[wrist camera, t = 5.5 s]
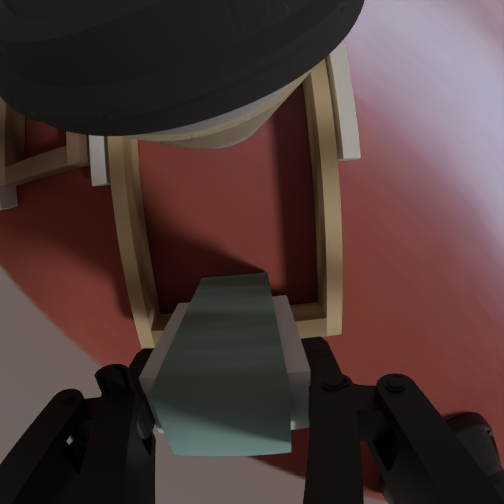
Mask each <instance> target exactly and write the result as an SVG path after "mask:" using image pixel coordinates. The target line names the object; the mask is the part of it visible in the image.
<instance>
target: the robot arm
mask: <svg viewBox="0 0 504 504" xmlns="http://www.w3.org/2000/svg"><path fill="white" fill-rule="evenodd" d="M272 299H273V304H274V309H275V314H276V319H277V324H278V329H279V334H280V339H281V344H282V349H283V354H284V359H285V365H286V370H287V375H288V380H289V385H290V404H291V430H295V429H303V428H309V421H310V438H309V450H308V461H307V472H306V482H305V491H304V499H303V504H364V501H363V480H362V465H361V452H360V441H359V440H362V441H366V442H367V444H368V446H369V448H370V450H371V453H372V455H373V457H374V459H375V461H376V463H377V466H378V468H379V470H380V472H381V474H382V477H381V479H380V488H381V491H382V493H383V496H384V498H385V500H386V501H387V502H388V503H389V504H504V469H503V468H502V466H501V463H500V458H499V454H498V450H497V446H496V443H495V440H494V437H493V432H492V429H491V427H490V425H489V424H488V423H487V421H486V420H485V419H484V418H483V417H482V416H481V415H479V414H466V415H463V416H460V417H457V418H455V419H452V420H450V421H448V422H446V421H445V420H444V419H443V418H442V416H441V415H440V414H439V412H438V411H437V410H436V409H435V407H434V406H433V405H432V404H431V402H430V401H429V400H428V399H427V397H426V396H425V395H424V394H423V392H422V391H421V390H420V389H419V387H418V386H417V385H416V384H415V382H414V381H413V380H412V379H411V378H409V377H408V376H405V375H403V374H395V373H394V374H387V375H385V376H383V377H381V378H380V379H379V380H378V381H377V385H376V386H365V385H357V384H353V383H352V381H351V379H350V378H349V377H348V376H346V375H343V374H342V373H341V370H340V368H339V366H338V364H337V362H336V360H335V357H334V355H333V353H332V351H331V350H330V347H329V345H328V342H327V341H326V340H324V339H323V338H321V337H320V336H318V337H310V338H302V339H300V336H299V332H298V329H297V326H296V323H295V320H294V317H293V314H292V311H291V308H290V304H289V301H288V298H287V295H282V296H272ZM189 304H190V303H178V305H177V307H176V309H175V311H174V312H173V314H172V316H171V318H170V320H169V322H168V323H167V325H166V327H165V329H164V331H163V333H162V335H161V336H160V338H159V340H158V342H157V344H156V346H155V348H144V349H142V350H141V351H140V352H138V353H137V354H136V356H135V357H134V359H133V362H131V364H130V366H129V367H127V366H125V365H122V364H112V365H107V366H105V367H102V368H101V369H99V370H98V371H97V372H96V374H95V377H96V380H97V383H98V385H99V388H100V390H101V392H102V395H101V397H98V398H89V399H84V397H83V395H82V393H81V392H80V391H79V390H76V389H66V390H63V391H61V392H59V393H57V394H56V395H55V396H54V397H53V398H52V400H51V401H50V402H49V403H48V405H47V406H46V407H45V408H44V409H43V411H42V412H41V413H40V414H39V415H38V417H37V418H36V419H35V420H34V422H33V423H32V424H31V426H29V428H28V429H27V430H26V432H25V433H24V434H23V435H22V437H21V438H20V439H19V440H18V442H17V443H16V444H15V446H14V447H13V448H12V450H11V451H10V452H9V453H8V455H7V456H6V458H5V459H4V460H3V461H2V463H1V464H0V504H155V445H156V440H155V436H154V434H153V428H154V425H155V424H156V426H157V429H158V431H159V433H164V431H163V429H162V426H161V423H160V421H159V418H158V416H157V413H156V410H155V408H154V405H153V402H152V399H151V396H150V394H149V393H150V391H151V388H152V386H153V384H154V381H155V379H156V377H157V375H158V372H159V370H160V368H161V366H162V363H163V361H164V359H165V357H166V354H167V352H168V350H169V348H170V345H171V343H172V341H173V339H174V337H175V334H176V332H177V330H178V328H179V326H180V323H181V321H182V319H183V317H184V315H185V313H186V310H187V308H188V306H189ZM69 436H70V437H71V439H72V440H73V441H72V443H71V444H70V445H69V444H68V443H67V442H66V441H67V439H68V438H69Z"/></svg>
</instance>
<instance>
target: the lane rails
mask: <svg viewBox="0 0 504 504" xmlns="http://www.w3.org/2000/svg"><path fill="white" fill-rule="evenodd" d="M325 63H326V69H327V75H328V82H329V89H330V96H331V103H332V111H333V119H334V128H335V137H336V147H337V158H338V161H349V160H355V159H360V158H361V156H360V145H359V136H358V127H357V118H356V110H355V103H354V96H353V90H352V83H351V77H350V71H349V66H348V60H347V55H346V50H345V45H344V40H343V41H342V42H341V43H340V44H339V45H338V46H337V47H336V48H335V49H334V50H333V51H332V52H331V53H330V54H329V55H328V56H327V57H326V58H325ZM89 149H90V165H91V178H92V186H106V185H111V181H110V169H109V156H108V138H107V136H92V135H89ZM17 206H18V201H17V191H16V186H10V187H0V210H4V209H10V208H13V207H17Z"/></svg>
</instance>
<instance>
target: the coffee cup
mask: <svg viewBox="0 0 504 504" xmlns="http://www.w3.org/2000/svg"><path fill="white" fill-rule="evenodd" d="M363 4H364V0H0V97H1V98H2V99H3V100H4V102H5V103H6V104H7V105H9V106H10V107H11V108H12V109H14V110H15V111H17V112H18V113H20V114H22V115H24V116H26V117H29V118H31V119H34V120H38V121H42V122H44V123H46V124H48V125H51V126H53V127H55V128H58V129H61V130H64V131H68V132H72V133H77V134H83V135H92V136H122V137H126V138H130V139H136V140H143V141H149V142H156V143H162V144H168V145H173V146H179V147H184V148H193V149H220V148H226V147H229V146H233V145H235V144H238V143H240V142H242V141H244V140H245V139H247V138H248V137H250V136H251V135H252V134H253V133H255V132H256V131H257V130H258V129H259V127H260V126H261V125H262V124H264V123H265V122H266V121H267V120H268V119H269V118H270V116H271V115H272V114H273V113H274V112H275V111H276V110H277V109H278V107H279V106H280V105H281V104H282V103H283V102H284V101H285V100H286V99H287V97H288V96H289V95H290V94H291V93H292V92H293V91H294V90H295V89H296V88H297V87H298V86H299V84H300V83H301V82H302V81H303V80H304V79H305V78H306V77H307V75H308V74H309V73H310V72H311V70H312V69H313V67H315V66H316V65H317V64H318V63H320V62H321V61H322V60H323V59H324V58H326V57H327V56H328V55H329V54H330V53H331V52H332V51H333V50H334V49H335V48H336V47H337V46H338V45H339V44H340V43H341V42H342V41H343V39H344V38H345V37H346V36H347V34H348V33H349V32H350V30H351V28H352V27H353V25H354V24H355V22H356V20H357V18H358V16H359V14H360V12H361V9H362V7H363Z"/></svg>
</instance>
